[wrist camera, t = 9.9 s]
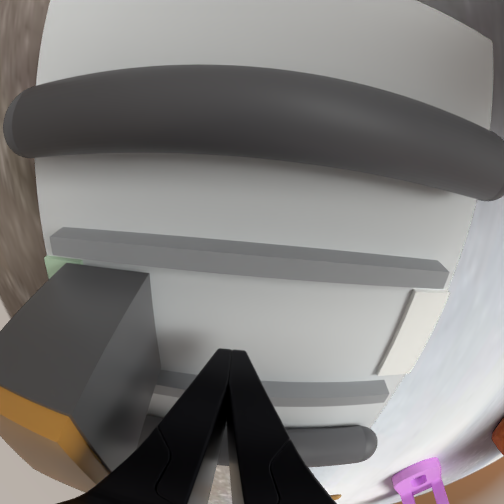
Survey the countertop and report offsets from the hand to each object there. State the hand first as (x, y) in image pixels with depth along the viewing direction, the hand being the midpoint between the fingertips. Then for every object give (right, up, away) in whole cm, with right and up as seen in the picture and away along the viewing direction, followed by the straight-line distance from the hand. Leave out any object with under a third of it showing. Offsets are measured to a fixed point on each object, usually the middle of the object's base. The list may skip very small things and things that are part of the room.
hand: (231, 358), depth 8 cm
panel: (0, +1, +3) cm, 3 cm away
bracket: (+20, -23, +15) cm, 34 cm away
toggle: (-4, +1, +1) cm, 4 cm away
